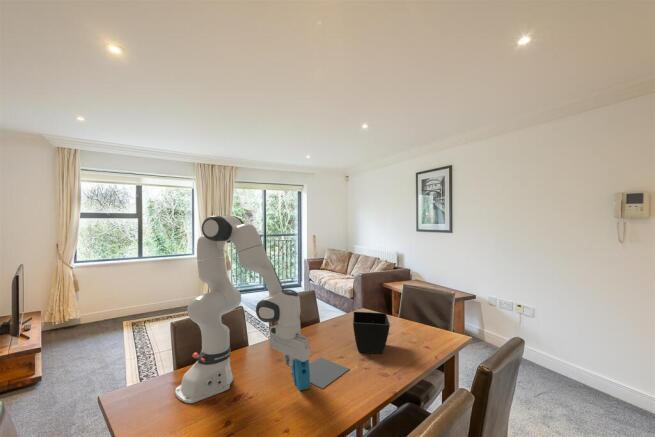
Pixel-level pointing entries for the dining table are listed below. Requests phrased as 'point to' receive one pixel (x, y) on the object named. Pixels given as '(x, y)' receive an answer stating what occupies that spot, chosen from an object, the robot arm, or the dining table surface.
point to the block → (301, 374)
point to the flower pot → (370, 331)
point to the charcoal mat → (325, 372)
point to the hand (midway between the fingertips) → (289, 365)
